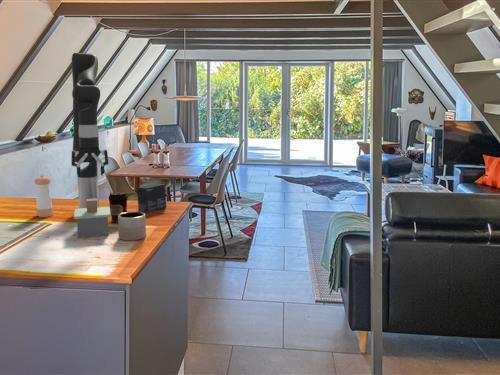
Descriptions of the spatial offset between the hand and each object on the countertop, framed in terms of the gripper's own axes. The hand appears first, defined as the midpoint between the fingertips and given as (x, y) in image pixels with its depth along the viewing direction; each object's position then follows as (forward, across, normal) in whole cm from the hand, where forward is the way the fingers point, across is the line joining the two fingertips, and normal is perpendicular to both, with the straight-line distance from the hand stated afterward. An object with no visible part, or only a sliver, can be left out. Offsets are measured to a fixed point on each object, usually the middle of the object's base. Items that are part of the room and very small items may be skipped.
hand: (90, 175), depth 207 cm
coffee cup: (+24, -11, -16) cm, 31 cm away
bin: (+24, 0, 0) cm, 24 cm away
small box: (+24, -28, -36) cm, 52 cm away
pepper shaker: (+24, +22, -36) cm, 49 cm away
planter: (+24, -15, +11) cm, 31 cm away
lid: (+16, 0, 0) cm, 16 cm away
